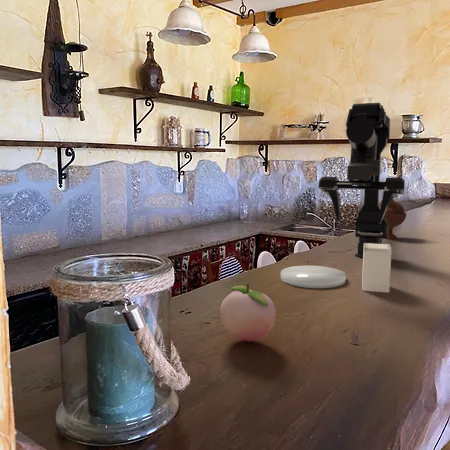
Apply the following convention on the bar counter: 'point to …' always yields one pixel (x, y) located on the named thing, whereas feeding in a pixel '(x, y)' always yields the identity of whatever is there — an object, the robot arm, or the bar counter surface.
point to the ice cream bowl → (394, 217)
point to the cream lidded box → (376, 267)
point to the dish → (313, 276)
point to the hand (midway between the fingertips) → (358, 222)
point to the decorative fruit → (247, 313)
